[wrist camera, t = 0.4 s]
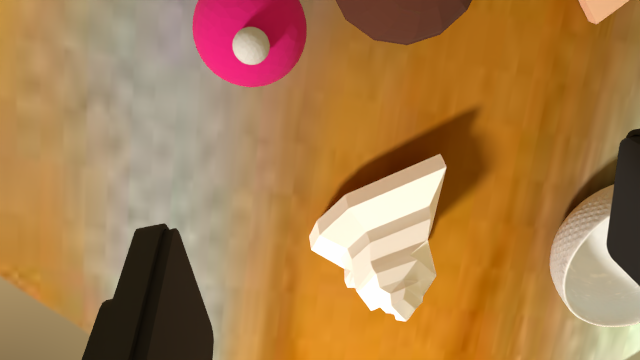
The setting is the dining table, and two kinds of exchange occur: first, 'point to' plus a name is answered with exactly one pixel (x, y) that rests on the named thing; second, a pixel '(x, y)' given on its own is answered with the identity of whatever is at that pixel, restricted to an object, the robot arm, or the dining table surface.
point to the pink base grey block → (599, 8)
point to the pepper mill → (249, 38)
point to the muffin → (402, 18)
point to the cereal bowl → (592, 267)
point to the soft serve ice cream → (385, 237)
